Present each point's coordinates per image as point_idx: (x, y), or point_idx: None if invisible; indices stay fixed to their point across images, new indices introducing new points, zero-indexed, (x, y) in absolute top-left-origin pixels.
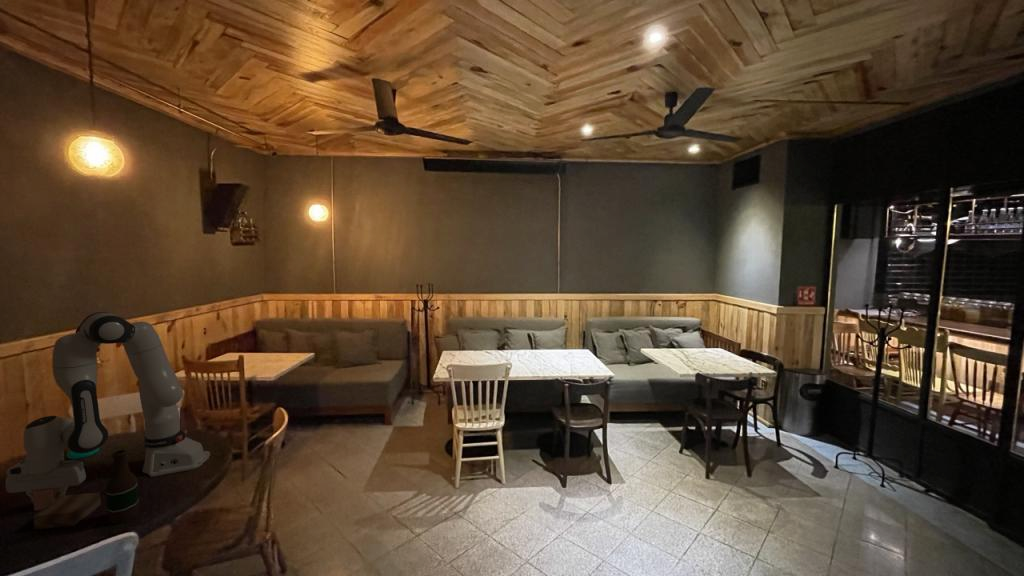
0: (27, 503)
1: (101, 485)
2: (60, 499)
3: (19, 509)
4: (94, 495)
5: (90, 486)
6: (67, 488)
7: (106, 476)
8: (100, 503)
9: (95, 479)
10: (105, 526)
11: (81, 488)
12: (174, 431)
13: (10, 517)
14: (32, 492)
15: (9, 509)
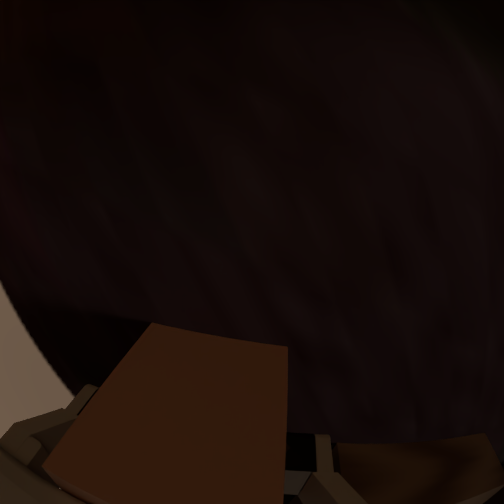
0: (46, 283)
1: (500, 179)
2: None
3: (61, 346)
4: (485, 499)
5: (429, 146)
6: (357, 495)
7: (453, 4)
8: (485, 438)
9: (393, 5)
10: None
11: (360, 151)
12: None
13: None
14: (51, 450)
15: (19, 315)
